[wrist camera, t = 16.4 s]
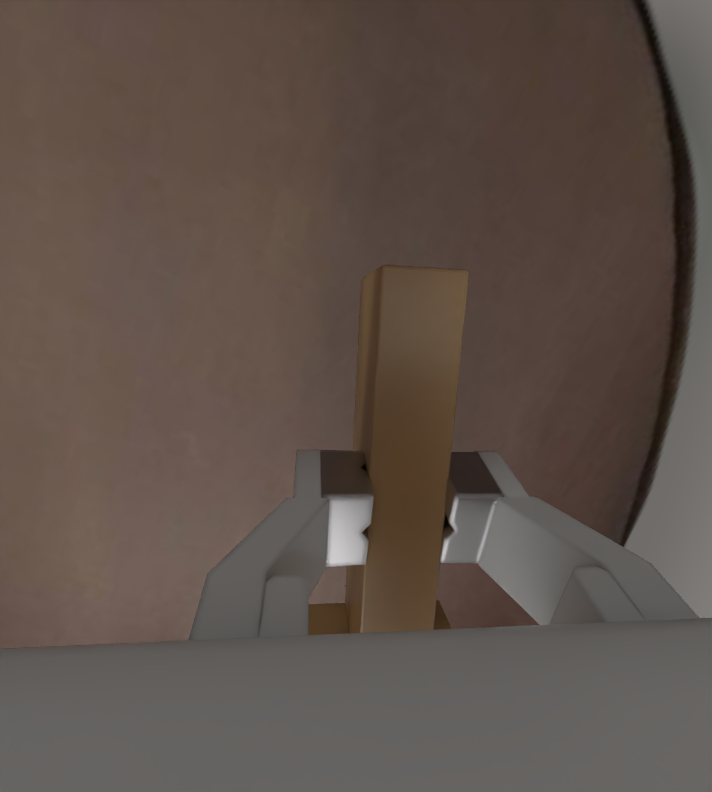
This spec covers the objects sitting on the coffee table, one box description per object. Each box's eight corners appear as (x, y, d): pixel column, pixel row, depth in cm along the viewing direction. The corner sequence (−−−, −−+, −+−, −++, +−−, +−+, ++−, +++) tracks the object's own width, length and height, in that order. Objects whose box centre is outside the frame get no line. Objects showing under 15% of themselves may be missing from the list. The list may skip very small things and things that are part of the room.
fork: (471, 284, 10) (534, 274, 7) (415, 833, 14) (443, 972, 11) (311, 274, 10) (312, 259, 7) (296, 845, 13) (292, 994, 10)
